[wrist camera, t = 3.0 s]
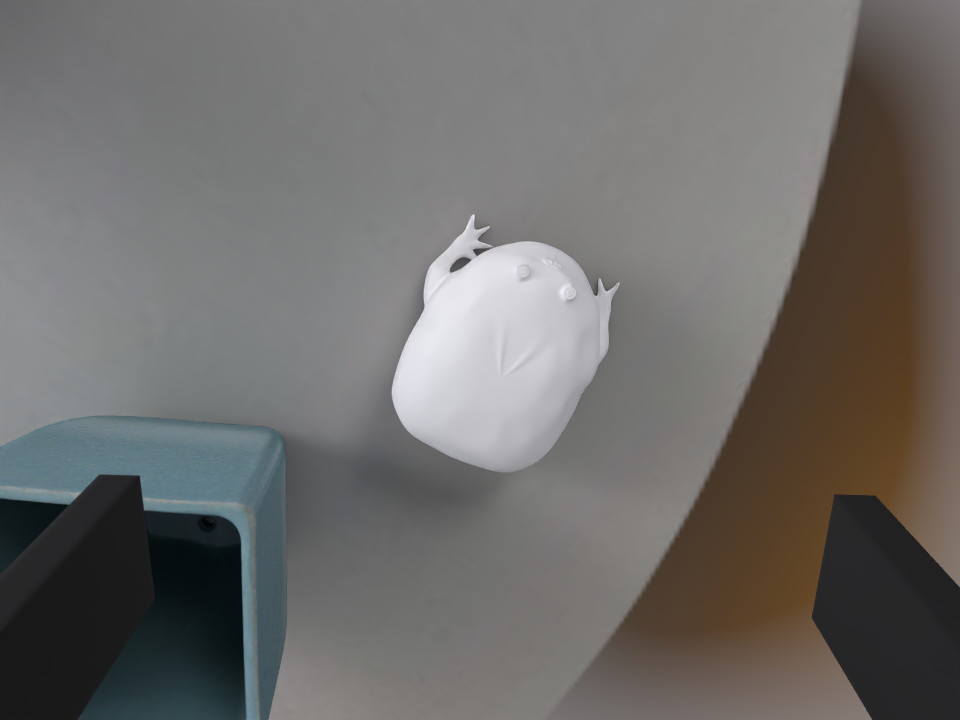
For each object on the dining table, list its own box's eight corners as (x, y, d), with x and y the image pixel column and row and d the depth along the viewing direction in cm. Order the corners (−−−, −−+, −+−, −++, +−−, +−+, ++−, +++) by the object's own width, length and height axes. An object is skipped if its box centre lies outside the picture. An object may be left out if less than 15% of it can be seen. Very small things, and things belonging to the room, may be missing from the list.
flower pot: (100, 574, 33) (-39, 749, 24) (81, 365, 30) (-86, 481, 21) (321, 589, 33) (260, 770, 24) (323, 382, 30) (254, 505, 21)
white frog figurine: (462, 194, 27) (456, 212, 24) (640, 279, 28) (661, 309, 25) (370, 395, 30) (352, 439, 26) (536, 468, 31) (541, 520, 27)
